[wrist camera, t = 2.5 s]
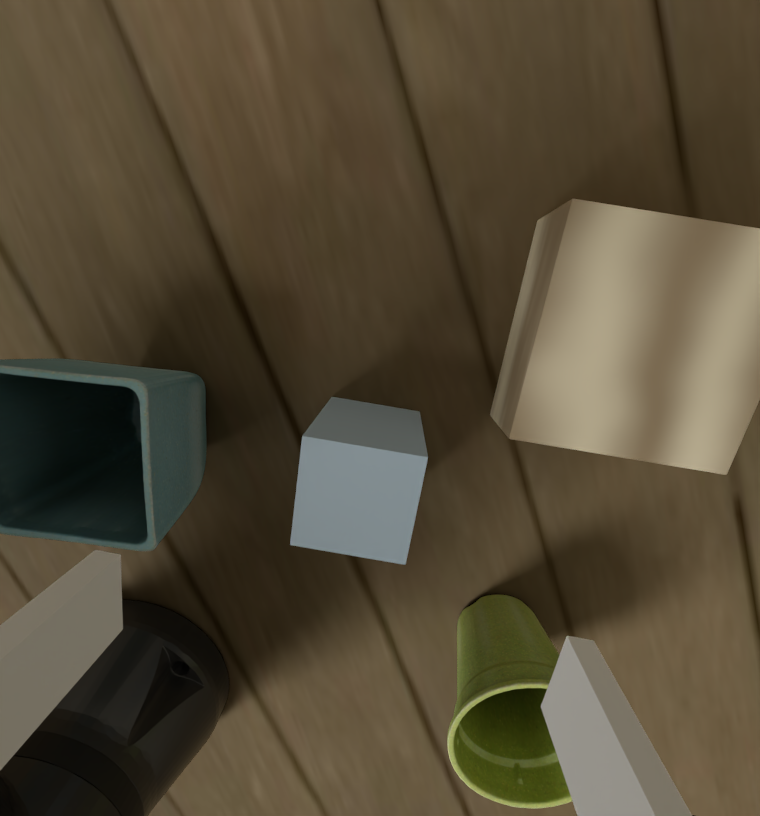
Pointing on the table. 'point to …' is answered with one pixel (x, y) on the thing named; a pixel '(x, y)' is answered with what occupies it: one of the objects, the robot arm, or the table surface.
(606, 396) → the birch block
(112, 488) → the flower pot
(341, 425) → the slate blue block
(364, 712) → the table surface
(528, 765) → the plant pot
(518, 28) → the table surface
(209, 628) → the table surface
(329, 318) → the table surface
